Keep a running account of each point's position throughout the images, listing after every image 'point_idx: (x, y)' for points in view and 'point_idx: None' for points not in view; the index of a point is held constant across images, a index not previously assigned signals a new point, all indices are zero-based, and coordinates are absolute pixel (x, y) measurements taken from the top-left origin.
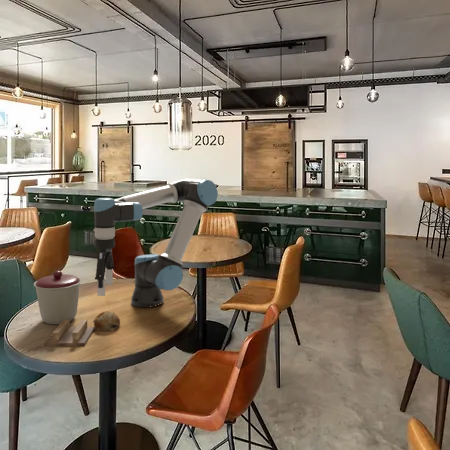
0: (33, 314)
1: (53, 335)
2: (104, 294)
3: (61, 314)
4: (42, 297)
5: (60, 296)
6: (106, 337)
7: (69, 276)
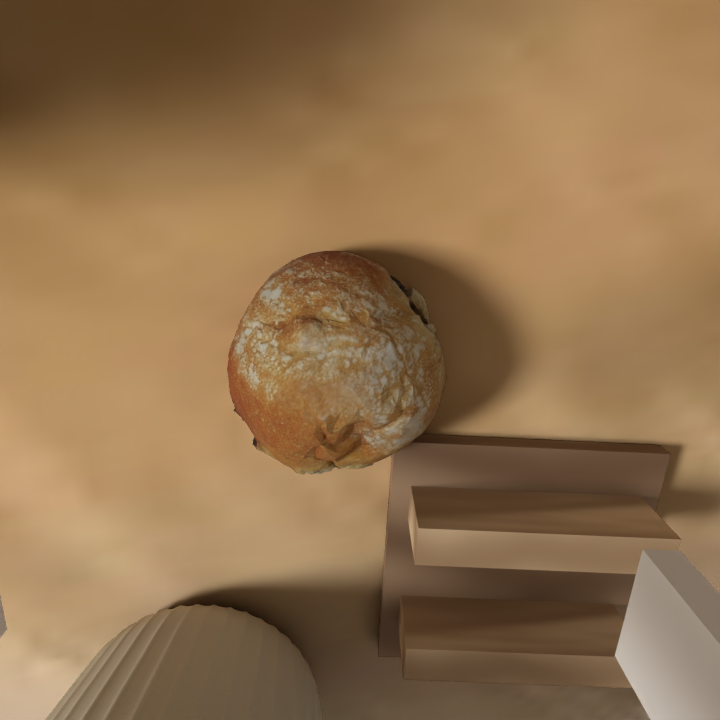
0: None
1: None
2: (694, 572)
3: (310, 716)
4: None
5: None
6: (551, 322)
7: None
